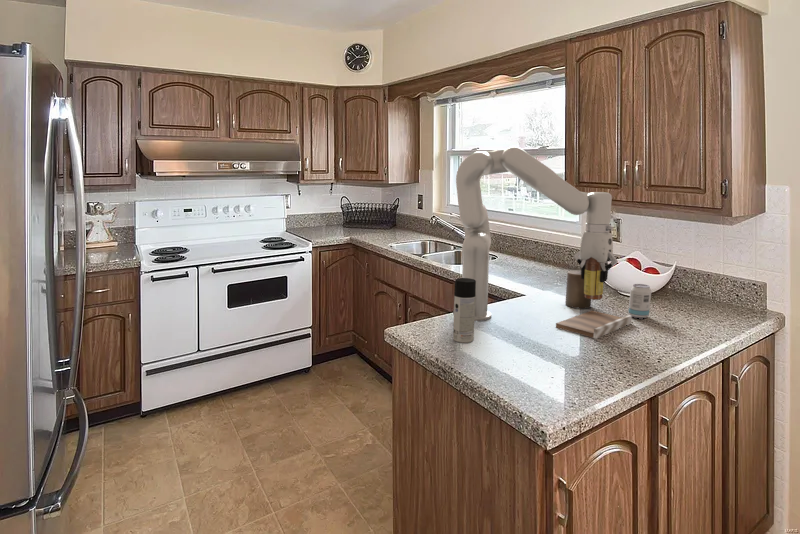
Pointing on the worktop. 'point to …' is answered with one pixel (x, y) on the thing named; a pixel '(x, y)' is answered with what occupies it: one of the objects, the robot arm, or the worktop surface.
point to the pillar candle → (576, 291)
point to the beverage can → (639, 301)
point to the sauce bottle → (592, 280)
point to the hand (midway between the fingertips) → (593, 279)
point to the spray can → (464, 310)
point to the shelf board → (594, 323)
